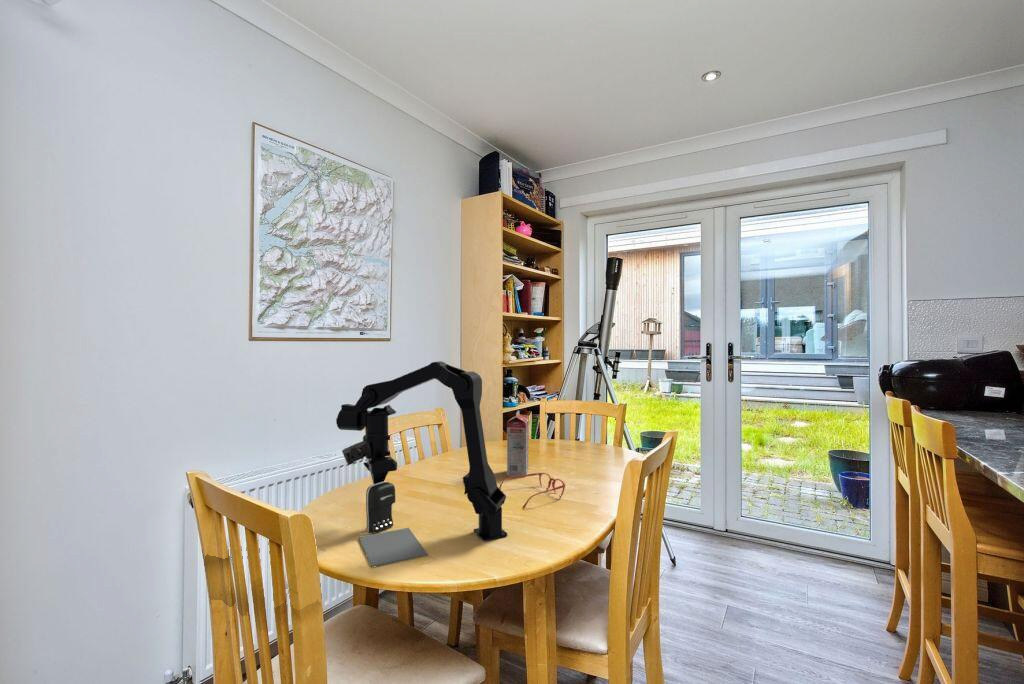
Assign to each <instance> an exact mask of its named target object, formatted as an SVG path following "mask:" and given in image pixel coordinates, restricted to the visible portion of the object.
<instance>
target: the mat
mask: <svg viewBox="0 0 1024 684" xmlns="http://www.w3.org/2000/svg"><path fill="white" fill-rule="evenodd" d="M358 539H360V540H359V542H360V544H361V546H363V547H362V549H363V551H364V554H365V555H367V556H366V557H367V559H368V560H367V561H368V563H369V564H371V565H370V567H371V566H372V567H373V568H375V567H374V566H378V567H381V565H382V566H387V565H391V564H395V563H400V561H401V562H404V561H410V560H413V559H418V558H423V557H427V556H428V555H429V553H428V552H427V551H426V550H425V548H424V546H423V545H422V544H421V543H420V541H419V540H418V538H417V537H416V536H415V534H414V533H413V532H412V530H411V529H410V528H409V527H404V528H400V529H395V530H389V531H384V532H383V531H382V532H378V533H372V534H368V535H363V536H359V537H358ZM386 564H387V565H386ZM372 567H371V568H372Z"/></svg>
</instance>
